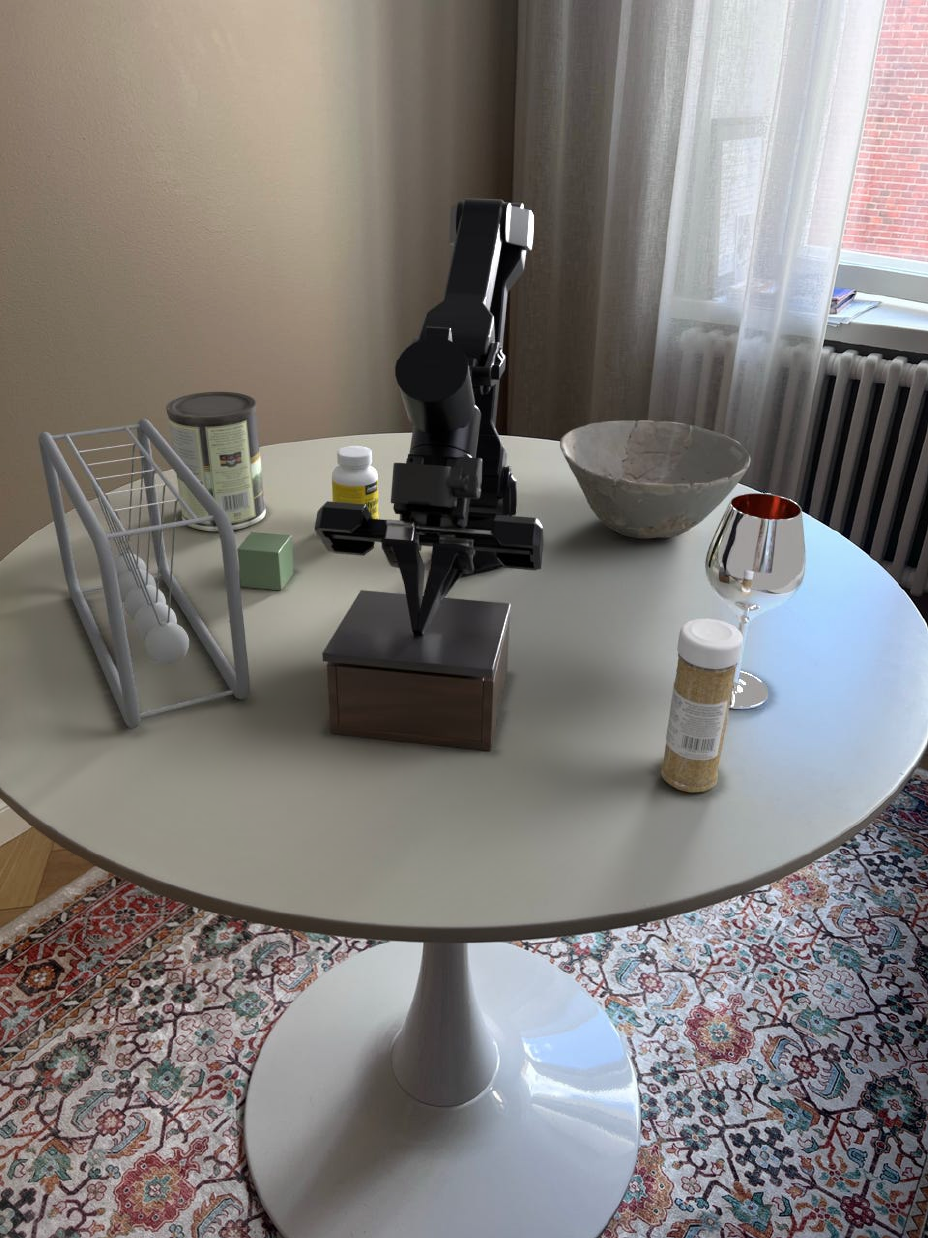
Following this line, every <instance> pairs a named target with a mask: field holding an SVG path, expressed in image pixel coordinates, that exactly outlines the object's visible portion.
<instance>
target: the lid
mask: <svg viewBox="0 0 928 1238" xmlns="http://www.w3.org/2000/svg"><path fill="white" fill-rule="evenodd" d="M509 613H510V614H511V603H508V602H497V601H487V600H476V599H464V598H455V597H454V598H451V597H445V598H444V599H443V601H442V603H441V604H440V606H439V608H438V610H437V612H436V613H435V615H434V617H433V619H432V621H431V622H430V624H429V626H428V628H427V629H426V631H425V633H424V635H414V634H413V632H412V627H411V621H410V616H409V610H408V604H407V599H406V593H400V592H399V593H398V592H388V591H387V592H386V591H375V590H364V589H360V591H359V592H358V594H357V596H356V597H355V599H354V600H353V602H352V604H351V605H350V607H349V609H348V610H347V612H346V614H345V615H344V617H343V619H342V620H341V622H340V623H339V625H338V627H337V628H336V630H335V631H334V633H333V635H332V637H330V640H329V641H328V643H327V644H326V646H325V648H324V650H323V651H322V653H321V654H322V662H326V663H328V662H335V663H345V664H355V665H365V666H375V667H385V668H395V669H405V670H415V671H425V672H435V673H445V674H455V675H465V676H475V677H485V678H493V675H494V671H495V667H496V663H497V659H498V655H499V652H500V648H501V644H502V640H503V636H504V632H505V629H506V625H507V621H508V617H509Z"/></svg>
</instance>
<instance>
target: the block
mask: <svg viewBox="0 0 928 1238" xmlns="http://www.w3.org/2000/svg"><path fill="white" fill-rule="evenodd" d="M292 539H293V538H292V534H283V533H270V532H261V531H260V532H259V531H258V532H257V531H251V532H250V533H249V534H248V535H247V537H246V538H245V539H244V540H243V542H242V543H240V545H239V546H238V547H237V548H236V550H237V560H238V570H239V580H240V588H249V589H259V590H260V589H262V590H270V591H282V590H284V587H285V586H286V585H287V583H288V581H289V580H290V578H291V577H292V576H293V574H294V572H295V569H294V568H295V567H294V555H293V554H294V553H293V541H292Z"/></svg>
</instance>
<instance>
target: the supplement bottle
mask: <svg viewBox="0 0 928 1238" xmlns="http://www.w3.org/2000/svg"><path fill="white" fill-rule="evenodd" d="M372 454H373V453H372V449H370V448H369V447H366V446H361V445H348V446H343V447H341V448H339V449H338V450H337V452H336V456H337V457H336V458H337V466H336V467H335V468H334V469H333V470H332V472H331V492H332V502H342V503H355V504H366V506H367V508H368V510H369V512H370V514H371V516H372V518H373V519H379V474H378V471H377V470H376V468H375V467H374V466H372V463H373V455H372Z"/></svg>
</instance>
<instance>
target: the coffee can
mask: <svg viewBox="0 0 928 1238" xmlns="http://www.w3.org/2000/svg"><path fill="white" fill-rule="evenodd" d="M165 409H166V414H167V416H168V423H169V431H170V439H171V445H172V449H173V450H174V451H175V453H176V454H177V455H178V456H179V457H180V459H181V460H182V461H183V462H184V463H185V465H186V466H187V467H188V468H189V469H190V471H191V472H192V473H193V474H194V475H195V477H196V478H197V479H198V480H199V481H200V482H201V484H202V485H203V486H204V487H205V488H206V490H207V491H208V492H209V493H210V494H211V496H212V497H213V498H214V499H215V500H216V502H217V503H218V504H219V505H220V506H221V508H222V509H223V510H224V511H225V512H226V514H227V515H228V517H229V519H230V522H231V524H232V528H233V531H237V530H242V529H245V528H248V527H251V526H253V525H255V524H257V523H259V522H260V521H262V520H263V519H264V518H265V516H266V514H267V510H266V504H265V495H264V486H263V473H262V472H263V471H262V461H261V452H260V451H261V450H260V439H259V438H260V437H259V428H258V427H259V426H258V418H257V417H258V416H257V415H258V414H257V411H258V402H257V401H256V399H255V398H254V397H252V396H250V395H247V394H244V393H239V392H233V391H232V392H231V391H205V392H204V391H203V392H197V393H191V394H187V395H182V396H180V397H177V398H175V399H173V400H171V401H169V402H168V403H167V404H166V407H165ZM176 480H177V481H176V482H177V488H178V493H179V495H180V496H181V497H182V499H183V500H184V501H185V502H186V504H187V505H188V506H189V508H190V509H191V510H192V512H193V513H194V514H195V515H196V517H197V518H201V517H206V516H210V515H209V514H208V512H207V511H206V510H205V509H204V507H203V506H202V505H201V504H200V502H199V501H198V500H197V499H196V497H195V496H194V495H193V494H192V492H191V491H190V490H189V489H188V487H187V486H186V485H185V484H184V482H183V481H182V480H181V479H180V477H179V476H178V475H177V474H176ZM180 511H181V521H184V520H190V519H192V518H191V517H190V516H189V514H188V513H187V512H186V510H185V509H184V508H183V506H182V505H181V504H180ZM187 526H188V527H189V528H191V529H195V530H199V531H204V532H218V533H219V531H218V528H217V525H216V523H215V521H214V520H212V521H207V522H201V523H196V524H190V525H187Z"/></svg>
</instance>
